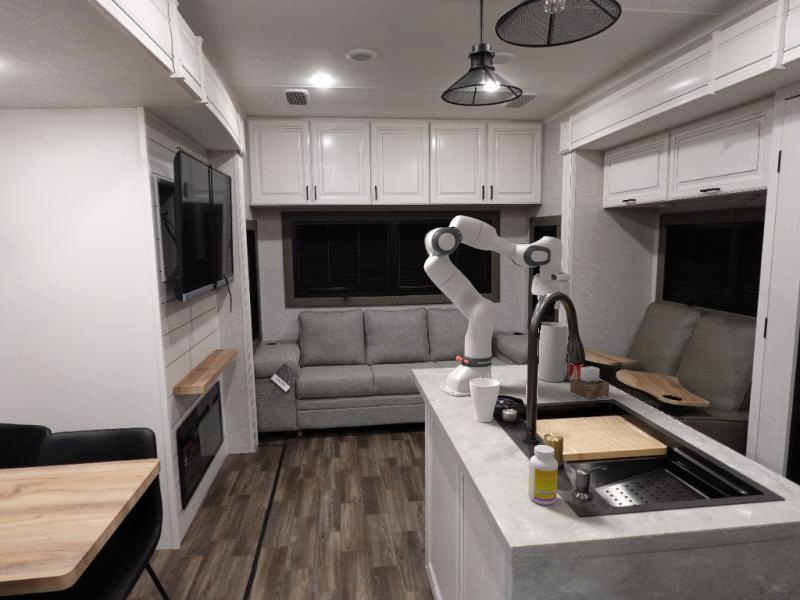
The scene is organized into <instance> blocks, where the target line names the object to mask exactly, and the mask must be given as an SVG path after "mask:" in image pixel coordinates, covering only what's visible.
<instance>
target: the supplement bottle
mask: <svg viewBox="0 0 800 600" xmlns="http://www.w3.org/2000/svg"><path fill="white" fill-rule="evenodd" d="M533 453H534V455H533V456H531V457H530V458H529V469H528V470H529V474H528V497H529V499H530V500H531V501H532V502H534V503H536V504H539V505H544V506H546V505H547V506H548V505H552V504H555V503H556V501H557V496H558V478H559V477H558V475H559V474H558V472H559V471H558V470H559V463H558V461H557V459H556V458H555V449H554V447H552V446H550V445H546V444H538V445H535V446H534V449H533Z"/></svg>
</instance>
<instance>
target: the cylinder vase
mask: <svg viewBox="0 0 800 600" xmlns="http://www.w3.org/2000/svg"><path fill="white" fill-rule="evenodd" d="M541 323H542V325H541V330H540V340H539V379H538V380H540V381H543V382H549V383H560V382H563V381H565V380H566V363H567V354H568V334H569V333H568V331H569V327H568V328H567V325H568V324H567V323H564V322H555V321H545V322H544V321H542V322H541Z"/></svg>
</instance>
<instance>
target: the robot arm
mask: <svg viewBox="0 0 800 600" xmlns="http://www.w3.org/2000/svg"><path fill="white" fill-rule="evenodd" d="M497 233H498V232H497V230H496V228H495V227H493V226H492V225H490V223H487V222H485V221H482V220H480V219H477V218H473V217H470V216H468V215H467V216H465V215H456V216H455V217H454V218H452V220H451V221H450V223H449V226H447V227H437V228H433V229H431V230H429V231H428V232H427V233H426V235H425V236H424V239H423V240H424V241H423V243H424V247H425V251H426V256H427V257H428V258H427V259H426V260H425V262H424V265H423V268H424V272H425V273H426V275H427V276H428V277H429V278H430V280H431V282H433V283H434V285H435V286H436V287H437V288H438V289H439V290H440V291H441V293H443V294H444V295H445V296H446V298H448V299H449V301H451V302H452V303H453V306H455V307H456V309H458V311H460V313H461V314H462V315H463V316H464V317H465V318H466V319H468V326H467V329H466V334H465V337H464V354H463V356H460V355H457V356H456V358H455V360H456V361H458V362H460V364H458V366H456V368H454V369H453V370H452V371H451V372H450V373H448V375H447V378H446V382H445V384H441V385H440V390H441V391H442V392H444V393H446V394H448V395H451V396H453V397H467V396H469V397H471V392H470V380H472V379H476V378H489V379H493V377H492V365H493V356H492V342H493V341H492V339H493V333H494V329H495V324H496V321H497V320H498V317H499V311H498V308H497V306H496V304H495V303H494V302H493V301H492V300H490V299H488V298H485V297H484V296H482V295H481V294H480V292H478V290H477V289H476V288H475V286H474V285H473V284H472V282H471V281H470V280H469V279H468V278H467V277H466V275H464V274H463V273H462V271H461V270H460V269H458V268H457V267H456V265H454V264H453V263H452V261H451V259H450V257H449V255H451V254H452V253H454V252H455V251H456V249H457V248H458V247H459V245H460V244H464V245H466V246H469V247H472V248H474V249H478V250H483V251H492V252H495V253H497V254H500V255H501V256H502V255H503V256H505V257H507V258H509V259H510V260H511V262H512V263H514V265H516V266H518V267H527V268H537V267H539V273H536V274H535V275H534V276H533V279H532V284H531V291H530V292H531V294H532V295H534V296H537V297H536V298H537V300H538V302H539V300H540V299H541V298H542V297H543V298H544V297H545V296H544V295H545V294H547V293H549V292H552V291H561V292H563V293H565V294H566V295H568V296H569V298H570V297H571V283H570V280H571V275H570V274H568V273H567V272H565V271H564V270H563V269H562V260H563V243H562V240H561V238H559V237H556V236H550V235H544V236H543V237H541V238H540V239H539V240H536V241H535V242H532V243H513V242H511V241H510V240H507V239H504V238H502V237H500V236H499V235H498V234H497ZM561 304H562V302H561V303H560V302H559V301H556V302H555V304H554V305H553V308H554V310H560V307H561Z"/></svg>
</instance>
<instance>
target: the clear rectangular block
mask: <svg viewBox="0 0 800 600" xmlns="http://www.w3.org/2000/svg"><path fill="white" fill-rule="evenodd" d="M599 380H600V368H599V367H596V366H593V365H590V366H583V367H582V368H581V377H580V382H582V383H584V384H587V385H593V384H599Z"/></svg>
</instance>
